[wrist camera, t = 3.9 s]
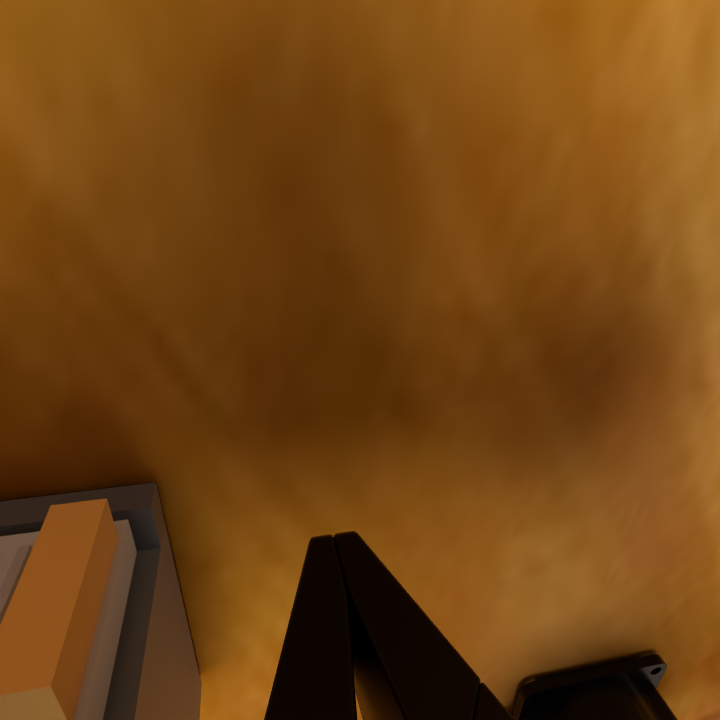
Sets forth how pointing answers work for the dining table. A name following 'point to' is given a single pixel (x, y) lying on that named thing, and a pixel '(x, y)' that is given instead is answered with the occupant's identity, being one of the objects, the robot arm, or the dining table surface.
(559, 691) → the robot arm
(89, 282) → the dining table surface
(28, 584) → the side door
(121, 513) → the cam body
